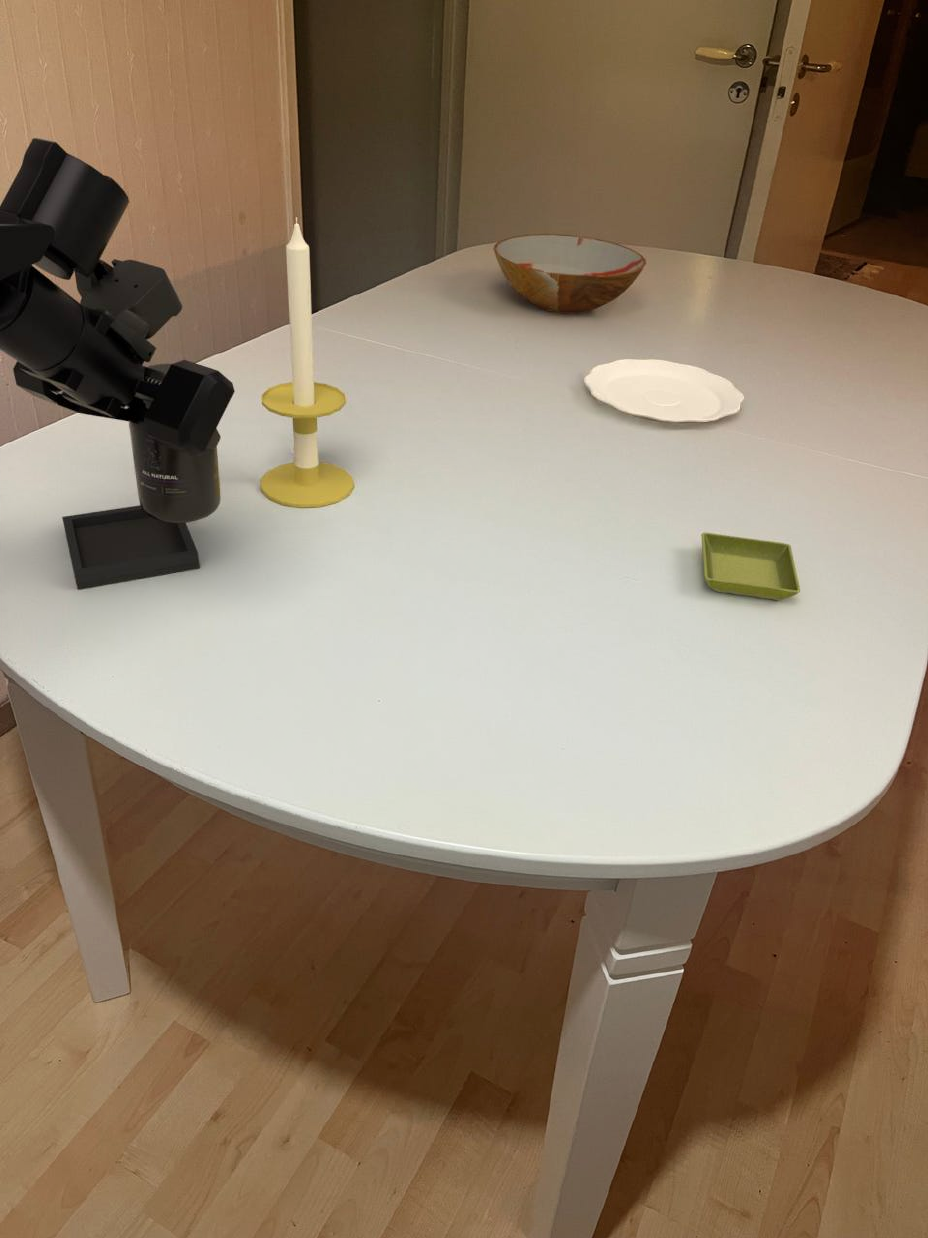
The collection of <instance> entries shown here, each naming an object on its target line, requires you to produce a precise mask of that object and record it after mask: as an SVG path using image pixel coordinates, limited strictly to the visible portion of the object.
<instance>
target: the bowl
mask: <svg viewBox="0 0 928 1238" xmlns="http://www.w3.org/2000/svg"><path fill="white" fill-rule="evenodd" d="M493 252H494V256H495V259H496V261H497V263H498V266H499V268H500V271H501V273H502V274H503V275H504V278H505V279H506V280H507V282H509V284H510V285H511V286H512V288H513V289H514V290H515V291H516V292H518V293H519V294H520V295H521V296H523V298H525V299H526V300H528V301H529V302H530V303H531V304H533V305H534V306H536V307H537V308H540V309H543V310H546V311H551V312H555V313H562V314H582V313H583V314H584V313H589V312H592V311H594V310H596V309H598V308H600V307H602V306H604V305H606V304H608V303H610V302H612V301H614V300H616V299H617V298H619V297H620V296H621V295H622V294H624V293H625V292H626V291H627V290H628V289H629V288H631V286H632V285H633V284H634V282H636V280H637V278H639V276H640V274H641V273H642V271H643V270H644V268H645V267H646V265H647V259H646V258H645V257H644V256H643V255H642V254H641V253H640V252H637V251H636V250H634V249H632V248H630V247H628V246H624V245H621V244H619V243H616V242H612V241H609V240H604V239H599V238H593V237H587V236H582V235H571V234H558V233H535V234H534V233H533V234H524V235H523V234H522V235H516V236H511V237H508V238H505V239H502V240H500V241H498V242H496V244H494V246H493Z"/></svg>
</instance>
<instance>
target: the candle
mask: <svg viewBox="0 0 928 1238" xmlns="http://www.w3.org/2000/svg"><path fill="white" fill-rule="evenodd" d="M285 249H286V250H285V254H286V256H285V257H286V273H287V274H286V277H287V290H288V291H287V294H288V295H287V296H288V314H289V335H290V336H289V338H290V356H291V357H290V359H291V377H292V381H290V382H285V383H279V384H276V385H274V386H271V387H269V388H267V389H266V390H265V391H264V392H263V393H262V394H261V405H262V406H263V408H265V409H266V410H267V411H268V412H270V413H273V414H275V415H278V416H281V417H287V418H291V419H292V436H293V455H294V456H293V457H294V458H293V459H294V461H293V462H288V463H284V464H280V465H278V466H275V467H273V468H271V469H269V470H268V471H266V473H264V475H263V476H262V477H261V479H260V480H259V481H260V492H261V493H262V494H263V495H264V496H265V497H266V498H267V499H268V500H270V501H273V502H275V503H277V504H279V505H281V506H286V507H292V508H293V507H294V508H300V509H301V508H303V509H304V508H321V507H325V506H330V505H334V504H337V503H339V502H340V501H343V500H344V499H346V498H348V497H349V496H350V495H351V494H352V492H353V490H354V489H355V483H354V477H353V476H352V474H350V473H349V472H348V471H347V470H345V469H344V468H342V467H339V466H337V465H335V464H332V463H328V462H321V461H319V438H318V418H322V417H327V416H331V415H333V414H335V413H337V412H339V411H342V409H343V407H344V406H345V405H346V404H347V398H346V394H345V392H343V391H342V390H341V389H339V388H338V387H335V386H333V385H330V384H327V383H323V382H317V381H315V375H314V373H315V372H314V371H315V370H314V346H313V345H314V344H313V317H312V316H313V315H312V313H313V312H312V291H311V290H312V288H311V287H312V285H311V259H310V254H311V253H310V246H309V244H308V243H307V242H306V241H305V239H304V237H303V234H302V231H301V227H300V224H299V223H298V216H297V217H295V223H294V225H293V231H292V234H291V237H290V240H289V243H287V244H286V245H285Z"/></svg>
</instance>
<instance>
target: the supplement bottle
mask: <svg viewBox="0 0 928 1238" xmlns="http://www.w3.org/2000/svg"><path fill="white" fill-rule="evenodd" d="M171 364H172V363H157V364H156V363H155V364H152V365H148V366H147V367H148V368H151V369H154V370H157V371H160V372H163V373H166V374H167V372H168V370H169V368H170V366H171ZM143 381H144V380H143ZM146 382H147V381H146ZM148 383H149V382H148ZM150 383H151V382H150ZM151 384H152V383H151ZM154 385H155V384H154ZM158 386H159V385H158ZM139 400H140V401H139V402H137V403H136V404H135V405H134V406H133V408H132V409H131V411H130V414H129V418H128V419H129V422H128V429H129V436H130V442H131V443H130V444H131V451H132V458H133V465H134V466H133V467H134V473H135V481H136V489H137V494H138V495H137V496H138V500H139V505H140V506H141V508H142V510H143V511H144V512H145V513H146V514H147V515H148V516H150V517H152V518H154V519H156V520H159V521H163V522H169V523H186V524H187V523H192V522H198V521H200V520H203V519H206V518H208V517H209V516H211V515H212V514H214V513H215V512H216V511H217V510H218V508H219V506H220V504H221V482H220V471H219V470H220V469H219V468H220V467H219V458H218V455H219V454H218V446H217V447H216V448H206V450H205V452H204V453H203V454H201V455H199V456H197V457H193V456H190V455H188V454H185V453H182V452H180V451H177V450H174V449H172V448H169V447H166V446H164V445H161V444H159V443H156V442H154V441H153V438H151V437H150V436H148V435H147V434H146V427H145V420H144V417H145V415H146V413H147V411H148V409H149V407H150V405H151V402H149V401H146V400H143V399H140V398H139Z"/></svg>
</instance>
